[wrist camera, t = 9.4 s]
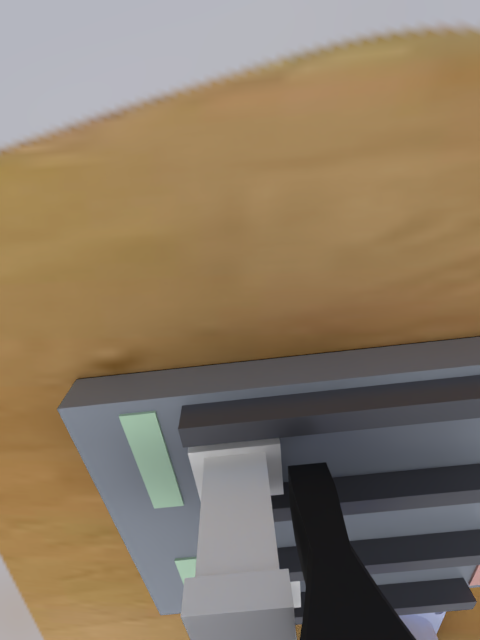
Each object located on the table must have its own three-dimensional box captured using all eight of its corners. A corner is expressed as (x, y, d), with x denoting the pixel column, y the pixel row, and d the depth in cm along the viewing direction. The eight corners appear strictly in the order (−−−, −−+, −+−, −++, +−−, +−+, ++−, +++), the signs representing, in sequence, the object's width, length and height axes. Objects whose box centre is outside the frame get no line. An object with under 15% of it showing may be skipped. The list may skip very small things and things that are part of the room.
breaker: (281, 479, 12) (308, 652, 8) (202, 486, 12) (188, 662, 8) (277, 429, 11) (307, 603, 7) (189, 438, 11) (165, 616, 7)
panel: (477, 553, 18) (511, 609, 16) (165, 582, 19) (157, 640, 17) (580, 325, 11) (665, 368, 9) (76, 379, 12) (41, 433, 9)
